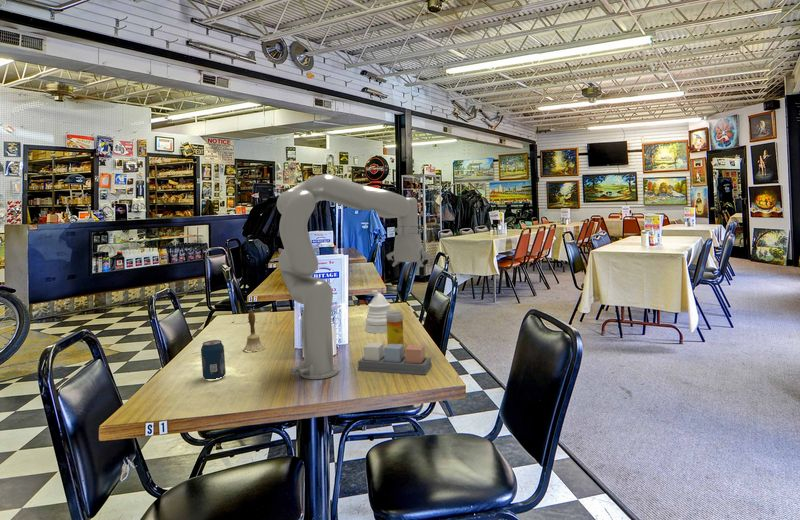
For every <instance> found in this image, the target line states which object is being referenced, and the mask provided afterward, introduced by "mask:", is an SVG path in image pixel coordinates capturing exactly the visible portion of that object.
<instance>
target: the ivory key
mask: <svg viewBox="0 0 800 520" xmlns="http://www.w3.org/2000/svg"><path fill="white" fill-rule="evenodd" d="M384 348H385V344H384V342H383V343H382V342H379V343H378V342H368V343H367V344H366V345H364V346H363V357H364V360H372V361H380V360H381V359H382V358H383V357H384Z"/></svg>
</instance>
